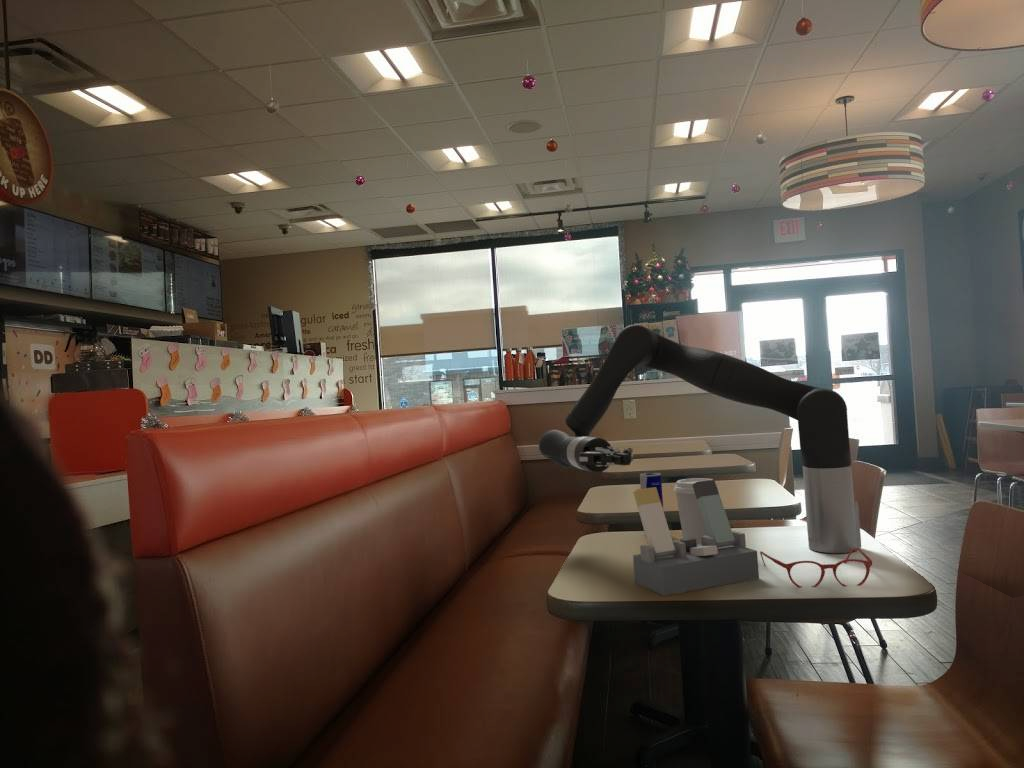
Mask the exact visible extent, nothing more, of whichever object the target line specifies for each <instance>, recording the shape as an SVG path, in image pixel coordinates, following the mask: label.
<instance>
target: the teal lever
mask: <svg viewBox="0 0 1024 768" xmlns="http://www.w3.org/2000/svg"><path fill="white" fill-rule="evenodd" d="M716 485H717V484H716V481H715V479H713V480H707V481H700V482H696V483H694V484H693V485H692V486H693V489H694V492H695V495H696V498H697V501H698V504H699V507H700V510H701V513H702V517H703V520H704V523H705V526H706V529H707V532H708V535H709V537H713V538H715V543H716V546H717V548H719V547H725V546H731V545H736V539H735V538H734V536H733V533H732V531H733V530H732V528H731V524H730V522H729V519H728V515H727V514H726V509H725V507H724V504H723V502H722V499H721V495H720V493H719V490H718V489H719V488H718V489H717V487H718V485H717V486H716Z"/></svg>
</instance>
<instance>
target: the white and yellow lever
mask: <svg viewBox="0 0 1024 768" xmlns="http://www.w3.org/2000/svg"><path fill="white" fill-rule="evenodd" d="M632 493H633V496H634V499H635V503H636V506H637V509H638V512H639V513H638V514H639V516H640V520H641V523H642V524H641V525H642V528H643V532H644V531H645V532H644V534H645V538H646V542H647V544H648V545H647V546H649V547H652V548H654V558H659V557H665V556H671V555H676V554H677V550H676V548H675V547H674V544H673V538H672V535H671V532H670V527H669V526H668V522H667V518H666V516H665V510H664V507H663V508H662V505H661V502H660V498H659V495H658V492H657V488H656V487H652V488H644V489H641V488H638V489H635V491H633V492H632ZM663 510H664V511H663Z"/></svg>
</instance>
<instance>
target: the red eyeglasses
mask: <svg viewBox="0 0 1024 768" xmlns="http://www.w3.org/2000/svg"><path fill="white" fill-rule="evenodd" d="M854 550H856V551H858V552H859V553H860V554H861V555H862V556H863V557H864V558H865V559H866V560H863V559H854V558H851V559H849V558H850V556H851V555H852V553H854V552H855V551H854ZM759 554H760V557H761V559H762V563H763V565H765V566H766V563H765V560H764V557H763V556H765V557H766V558H768V559H769V560H770V561H771V562H773V563H775V564H776V565H779V566H780V567H781V568H784V569H786V571H787V575H788V578H789V580H790V581H791V583H792V584H794V586H796V587H797V588H803V585H802V586H801V585H799V584H798V583H796V582H795V581H794V580H793V578H792V575H791V570H792V568H793V567H794V566H796V565H798V564H814V565H817V566H818V567H819V568H820V577H819V579H818V581H816V583H815V584H814V585H812V586H811V588H817V587H818V586H819V585H820V584H821V583H822V581H823V580H824V577H825V575H826V570H827V569H832V573H833V576H834V578H835V580H836V582H837V583H839V585H841V586H842V587H847V585H846V584H843V583H842V582H841V581H840V580H839V578H838V577H837V569H838V567H839V566H841V565H842V564H843V563H844V564H847V562H848V563H849V562H858V563H862V564H863V565H864V566H865V569H866V570H865V575H864V578H863V579H862V581H860V583H858V584H856V585H857V586H858V587H861V586H862V585H863V584H865V583H866V581H867V580H868V577H869V575H870V570H871V567H872V566H873V560H872V559H871V558H870V557H869V555H867V554H866V553H865V552H864V551H863V550H862V549H861V548H854V549H852V550H851V551H850V552H848V554H847V556H846V557H845V559H844V560H841V561H838V562H836V563H833V564H830V563H829V564H821V563H819V562H817V561H813V560H801V561H800V560H799V561H794V562H789V563H784V562H783V561H780V560H779V559H776V558H775V557H772V556H770V555H768V554H767V553H765V552H763V551H759ZM860 585H861V586H860Z"/></svg>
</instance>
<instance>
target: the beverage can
mask: <svg viewBox="0 0 1024 768" xmlns="http://www.w3.org/2000/svg"><path fill="white" fill-rule="evenodd" d="M661 475H662V474H661V472H645V473H644V472H643V473H640V474H639V482H640V484H639V485H640V489H644V488H652V487H656V488H657V492H658V495H659V498H660V502H661V505H662V508H663V511H664V512H665V509H664V499H663V486H662V484H663V483H662V476H661ZM643 532H644V533H645V531H644V530H643Z"/></svg>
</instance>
